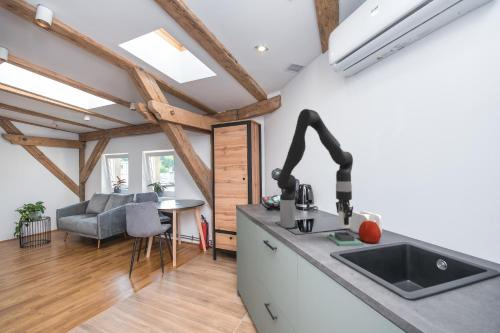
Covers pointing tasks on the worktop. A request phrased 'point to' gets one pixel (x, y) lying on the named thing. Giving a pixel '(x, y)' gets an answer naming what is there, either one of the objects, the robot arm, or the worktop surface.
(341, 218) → the plug
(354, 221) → the cable organizer
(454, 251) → the worktop surface
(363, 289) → the worktop surface
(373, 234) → the apple
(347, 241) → the board
